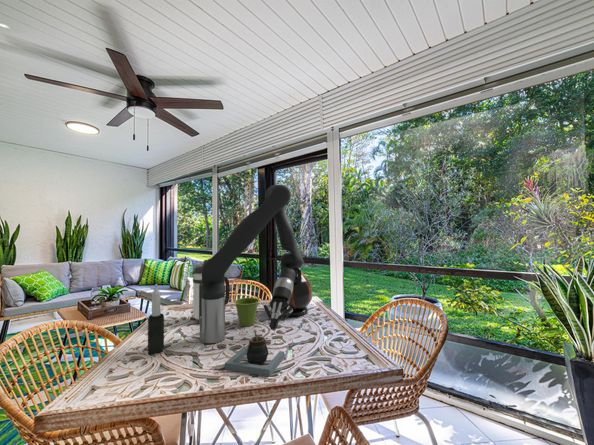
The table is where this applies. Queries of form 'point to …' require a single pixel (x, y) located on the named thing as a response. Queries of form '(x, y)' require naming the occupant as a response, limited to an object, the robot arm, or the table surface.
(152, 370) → the table surface
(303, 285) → the amphora vase
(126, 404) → the table surface
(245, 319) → the plant pot
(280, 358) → the frame
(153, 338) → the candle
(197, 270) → the coffee press
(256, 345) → the mate gourd
